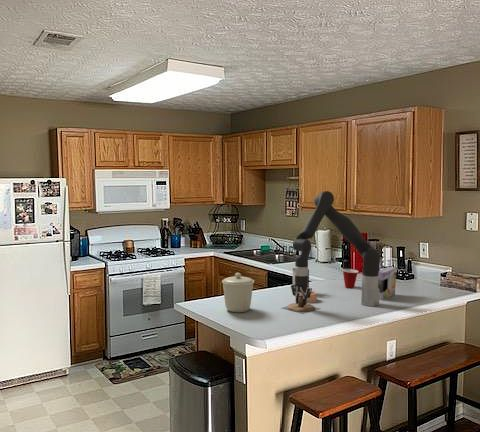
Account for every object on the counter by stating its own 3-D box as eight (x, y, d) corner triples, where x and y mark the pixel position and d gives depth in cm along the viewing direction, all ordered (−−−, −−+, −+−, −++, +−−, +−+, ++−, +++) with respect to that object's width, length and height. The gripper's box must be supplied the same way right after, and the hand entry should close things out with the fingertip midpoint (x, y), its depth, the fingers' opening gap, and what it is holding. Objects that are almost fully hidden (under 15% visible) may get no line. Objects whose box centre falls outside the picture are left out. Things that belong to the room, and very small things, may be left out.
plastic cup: (358, 289, 327) (359, 271, 326) (341, 289, 329) (342, 271, 328) (358, 286, 337) (358, 268, 336) (341, 285, 339) (342, 268, 338)
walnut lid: (319, 308, 278) (320, 296, 278) (302, 313, 268) (302, 300, 268) (299, 303, 289) (299, 291, 289) (282, 308, 279) (282, 295, 278)
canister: (234, 316, 263) (234, 277, 262) (215, 309, 278) (215, 272, 276) (260, 311, 274) (261, 273, 272) (241, 304, 288) (241, 268, 287)
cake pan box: (381, 300, 298) (382, 271, 297) (373, 299, 302) (374, 270, 300) (396, 295, 312) (397, 267, 311) (388, 294, 316) (389, 266, 314)
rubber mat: (321, 309, 278) (321, 308, 278) (302, 314, 267) (302, 313, 267) (299, 303, 290) (299, 303, 290) (280, 308, 279) (280, 308, 279)
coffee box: (305, 292, 319) (306, 267, 318) (309, 294, 313) (309, 269, 312) (292, 292, 317) (292, 268, 316) (295, 295, 311) (295, 269, 310)
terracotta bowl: (320, 300, 297) (320, 292, 297) (307, 304, 290) (308, 295, 289) (305, 297, 306) (305, 289, 305) (293, 300, 298) (293, 292, 297)
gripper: (315, 275, 274) (315, 305, 276) (296, 271, 285) (295, 300, 286) (307, 277, 269) (306, 308, 271) (287, 273, 280) (287, 303, 281)
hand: (301, 304), depth 279 cm, fingers open, 4 cm apart
